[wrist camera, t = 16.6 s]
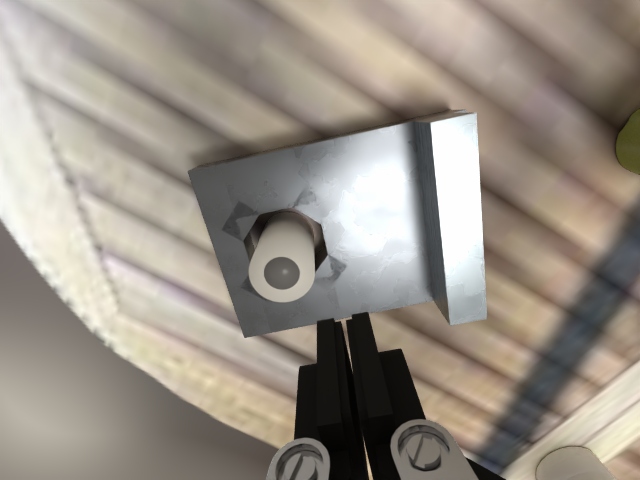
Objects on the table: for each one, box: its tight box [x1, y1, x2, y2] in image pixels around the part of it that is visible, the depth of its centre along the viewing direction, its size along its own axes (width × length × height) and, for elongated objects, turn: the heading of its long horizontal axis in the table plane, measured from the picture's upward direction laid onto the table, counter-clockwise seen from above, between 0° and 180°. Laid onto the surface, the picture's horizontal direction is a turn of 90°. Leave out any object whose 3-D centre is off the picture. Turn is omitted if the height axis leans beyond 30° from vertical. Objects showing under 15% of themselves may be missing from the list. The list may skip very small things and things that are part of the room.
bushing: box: [249, 212, 315, 302], centre depth 29 cm, size 5×5×8 cm
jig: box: [188, 110, 487, 338], centre depth 29 cm, size 22×16×7 cm
